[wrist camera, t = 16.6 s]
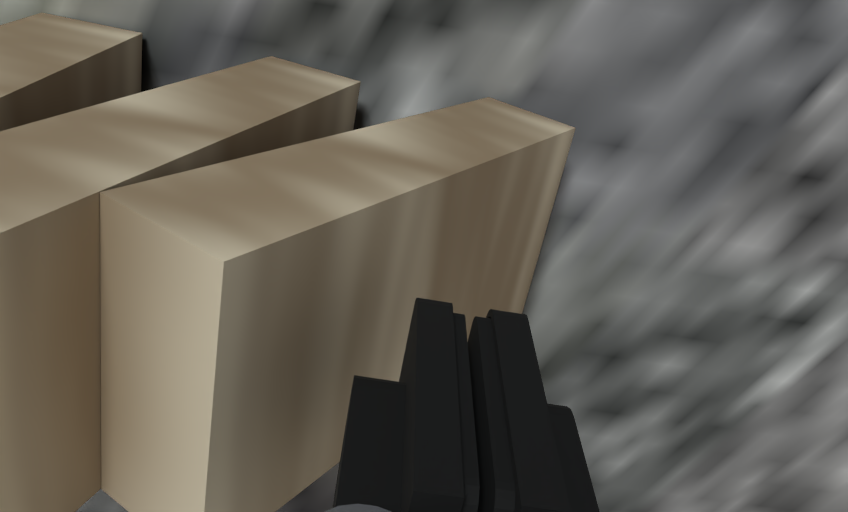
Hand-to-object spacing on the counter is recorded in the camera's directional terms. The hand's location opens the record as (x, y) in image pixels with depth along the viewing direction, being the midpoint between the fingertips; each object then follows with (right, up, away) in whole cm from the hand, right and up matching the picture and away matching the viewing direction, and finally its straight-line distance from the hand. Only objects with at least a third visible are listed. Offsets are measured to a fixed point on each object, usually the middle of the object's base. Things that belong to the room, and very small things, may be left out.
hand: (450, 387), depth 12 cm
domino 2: (-3, +4, +6) cm, 8 cm away
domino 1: (+1, +3, +6) cm, 7 cm away
